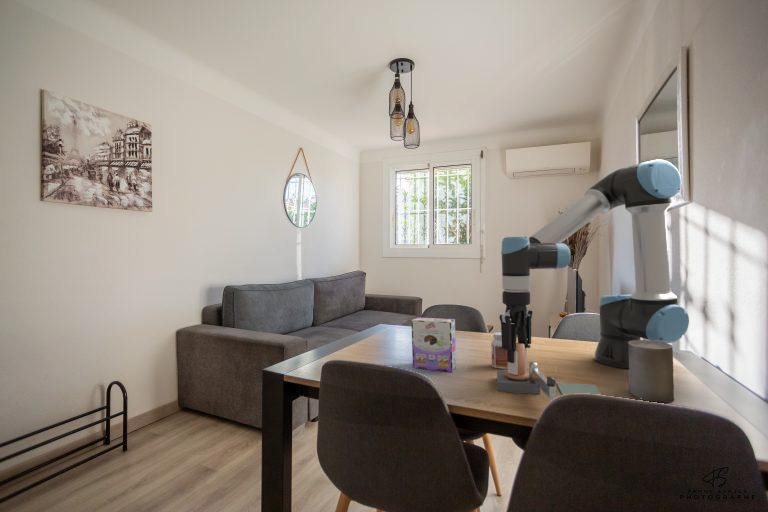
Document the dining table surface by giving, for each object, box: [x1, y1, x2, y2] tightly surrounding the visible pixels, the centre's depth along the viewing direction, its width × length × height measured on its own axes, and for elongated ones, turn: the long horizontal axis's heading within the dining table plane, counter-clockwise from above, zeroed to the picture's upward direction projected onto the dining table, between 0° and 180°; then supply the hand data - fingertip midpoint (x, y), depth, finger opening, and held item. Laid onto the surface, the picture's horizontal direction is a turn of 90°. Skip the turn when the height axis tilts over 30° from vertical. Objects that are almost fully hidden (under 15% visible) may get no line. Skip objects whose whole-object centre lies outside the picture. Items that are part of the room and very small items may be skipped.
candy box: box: [410, 316, 457, 373], centre depth 127 cm, size 14×6×16 cm, turn 65°
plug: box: [505, 342, 529, 381], centre depth 109 cm, size 7×7×12 cm
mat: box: [556, 382, 602, 395], centre depth 104 cm, size 10×10×1 cm
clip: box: [528, 361, 557, 400], centre depth 97 cm, size 16×2×6 cm, turn 175°
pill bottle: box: [490, 331, 508, 370], centre depth 127 cm, size 6×6×11 cm
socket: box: [496, 369, 541, 395], centre depth 109 cm, size 11×11×2 cm
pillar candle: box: [628, 339, 675, 403], centre depth 100 cm, size 10×10×15 cm
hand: (517, 371), depth 109 cm, fingers closed on plug, 4 cm apart
